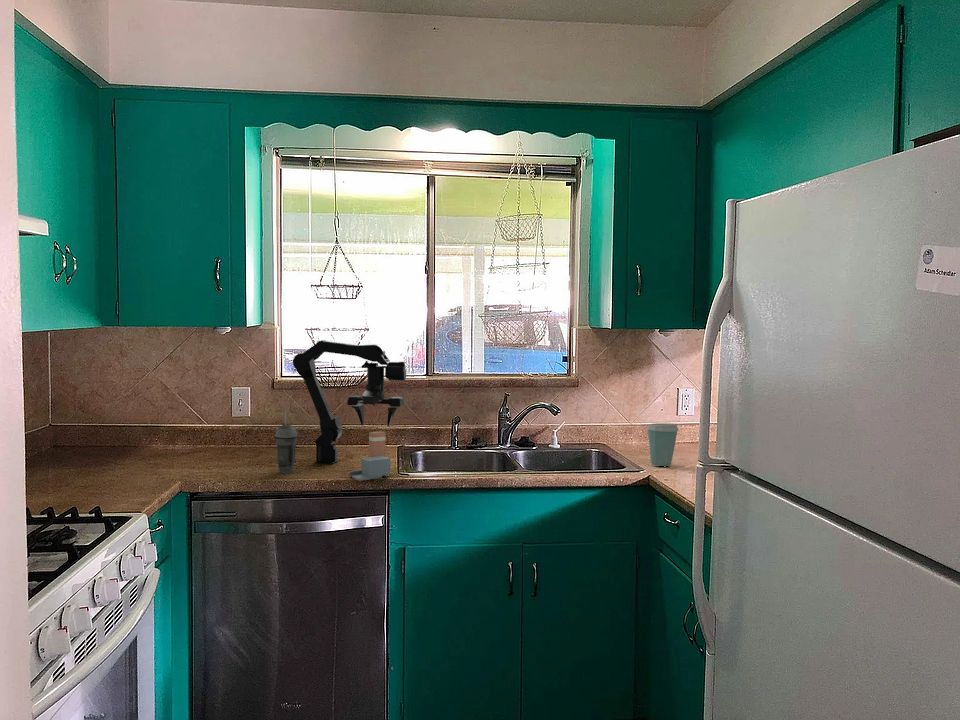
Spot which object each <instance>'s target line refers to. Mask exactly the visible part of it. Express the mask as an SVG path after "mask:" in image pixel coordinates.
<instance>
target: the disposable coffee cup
mask: <svg viewBox="0 0 960 720" xmlns="http://www.w3.org/2000/svg"><path fill="white" fill-rule="evenodd" d="M646 429H647V435H648V436H647V438H648V447H649V448H648V449H649V456H650V457H649V458H650V464H651V465H652V466H653V465H654V466H653V467H656V466H670V467H671V465H672V463H673V456H674V452H675V445H676V440H677V436H678V435H677V434H678V432H679V427H678V424H677V423H669V422H667V423H665V422H663V423H658V422H657V423H650V424H648V425H647V427H646Z"/></svg>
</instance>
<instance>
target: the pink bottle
mask: <svg viewBox="0 0 960 720" xmlns="http://www.w3.org/2000/svg"><path fill="white" fill-rule="evenodd" d="M368 433H369V434H368V442H369V443H368V458H369V457H377V456H385V457H386V440H387V437H386V434H387V433H386V432H385V431H381V430H379V431H369V432H368Z"/></svg>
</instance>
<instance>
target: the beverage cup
mask: <svg viewBox="0 0 960 720" xmlns="http://www.w3.org/2000/svg"><path fill="white" fill-rule="evenodd" d="M274 438H275V444H276V453H277V462H278V463H277V464H278V472H280V474H293V473H294V470H295V463H296V462H295V461H296V460H295V459H296V450H297V442H298V438H299V437H298V432H297V429H296V428H295V427H294V426H293V425H291V424H288V423H287V410H284V424H281V425H280V426H279V427H278V428H277V429H276V431H275V435H274ZM292 472H293V473H292Z"/></svg>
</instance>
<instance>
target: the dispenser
mask: <svg viewBox="0 0 960 720" xmlns="http://www.w3.org/2000/svg"><path fill="white" fill-rule="evenodd" d="M349 474H350V478H351V477H352V478H351V479H354V480H356V481H358V482H359V481H361V482H362V481H369V480H375V479H376V480H377V479H382V478H383V476H389V475H391V458H390V457H387V456H386V455H385V456H377V457H369V456H368V457H362V458H361V469H357V470H356V469H355V470H350V471H349Z"/></svg>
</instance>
